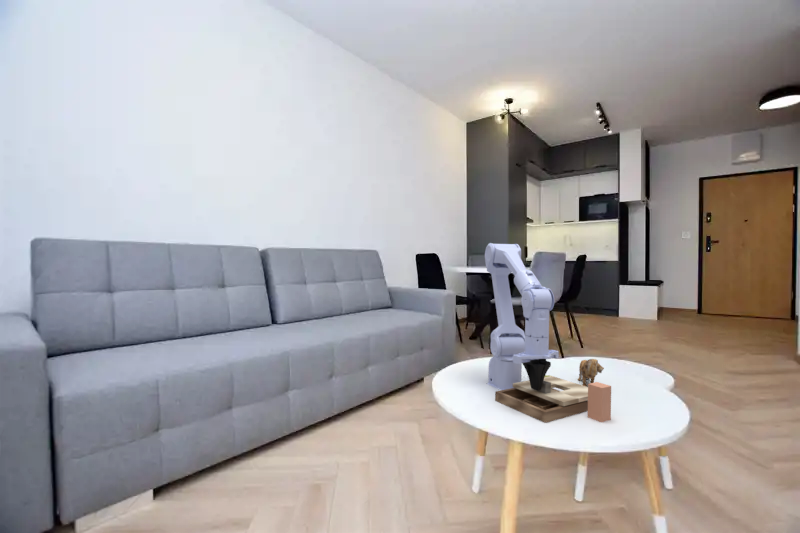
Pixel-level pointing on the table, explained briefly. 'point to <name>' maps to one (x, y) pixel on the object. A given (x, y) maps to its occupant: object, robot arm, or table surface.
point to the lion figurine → (589, 370)
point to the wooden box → (538, 405)
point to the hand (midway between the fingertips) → (535, 389)
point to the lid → (567, 397)
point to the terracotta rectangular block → (599, 401)
